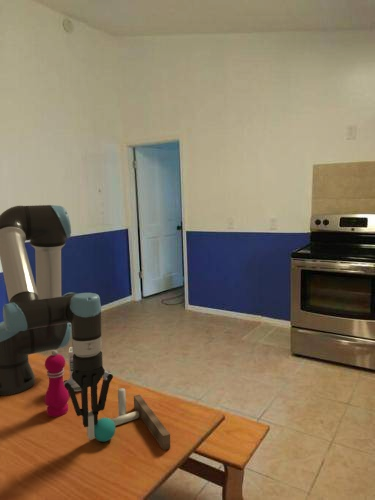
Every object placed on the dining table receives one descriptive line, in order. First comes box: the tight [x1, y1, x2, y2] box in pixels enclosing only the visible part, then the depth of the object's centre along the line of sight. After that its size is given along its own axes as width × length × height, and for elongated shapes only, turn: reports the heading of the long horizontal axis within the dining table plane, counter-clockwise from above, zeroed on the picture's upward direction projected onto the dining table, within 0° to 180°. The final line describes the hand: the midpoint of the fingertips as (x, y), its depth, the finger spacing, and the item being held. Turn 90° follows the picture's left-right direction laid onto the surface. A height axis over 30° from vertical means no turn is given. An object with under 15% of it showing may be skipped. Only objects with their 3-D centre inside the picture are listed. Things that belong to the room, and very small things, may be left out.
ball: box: [94, 417, 116, 443], centre depth 106 cm, size 6×6×6 cm
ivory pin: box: [110, 410, 140, 427], centre depth 115 cm, size 2×2×9 cm
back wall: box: [133, 394, 171, 451], centre depth 113 cm, size 24×2×4 cm, turn 26°
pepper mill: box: [44, 350, 70, 418], centre depth 120 cm, size 7×7×20 cm
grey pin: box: [117, 387, 127, 417], centre depth 117 cm, size 2×2×9 cm
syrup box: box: [68, 346, 81, 393], centre depth 136 cm, size 6×6×14 cm
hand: (90, 436), depth 105 cm, fingers closed
